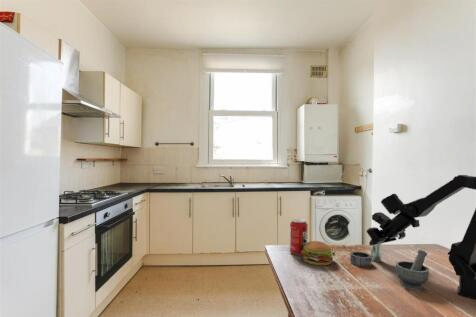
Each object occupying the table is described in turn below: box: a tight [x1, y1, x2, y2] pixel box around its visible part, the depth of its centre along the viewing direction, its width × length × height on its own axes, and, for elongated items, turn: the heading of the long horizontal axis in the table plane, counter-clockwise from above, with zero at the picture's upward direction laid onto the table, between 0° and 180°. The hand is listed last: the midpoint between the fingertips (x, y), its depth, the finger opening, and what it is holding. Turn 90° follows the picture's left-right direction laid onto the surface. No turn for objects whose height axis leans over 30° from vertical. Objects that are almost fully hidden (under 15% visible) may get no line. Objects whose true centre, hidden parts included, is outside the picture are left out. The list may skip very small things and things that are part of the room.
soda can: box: [289, 218, 309, 256], centre depth 125 cm, size 8×8×15 cm
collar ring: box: [349, 250, 373, 268], centre depth 114 cm, size 8×8×4 cm
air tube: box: [370, 243, 383, 263], centre depth 118 cm, size 4×4×12 cm
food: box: [301, 240, 336, 267], centre depth 116 cm, size 14×14×8 cm
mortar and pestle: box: [395, 249, 430, 292], centre depth 94 cm, size 11×9×12 cm
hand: (373, 243), depth 119 cm, fingers open, 4 cm apart
